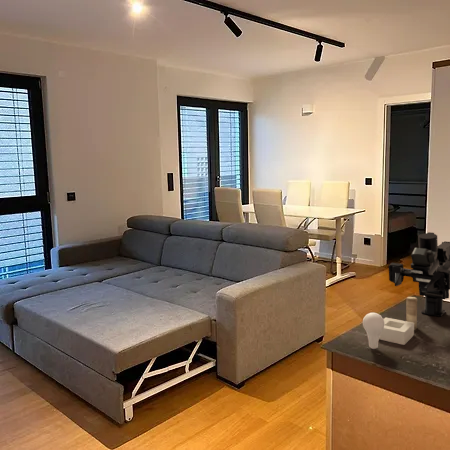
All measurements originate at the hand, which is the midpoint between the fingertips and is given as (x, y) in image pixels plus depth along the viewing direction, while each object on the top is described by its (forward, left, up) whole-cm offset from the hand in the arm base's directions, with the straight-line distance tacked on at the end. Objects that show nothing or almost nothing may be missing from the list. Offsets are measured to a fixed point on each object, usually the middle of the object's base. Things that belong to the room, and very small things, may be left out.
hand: (410, 287), depth 139 cm
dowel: (-7, -2, -16) cm, 18 cm away
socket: (+3, -4, -16) cm, 17 cm away
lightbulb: (+15, -6, -16) cm, 23 cm away
